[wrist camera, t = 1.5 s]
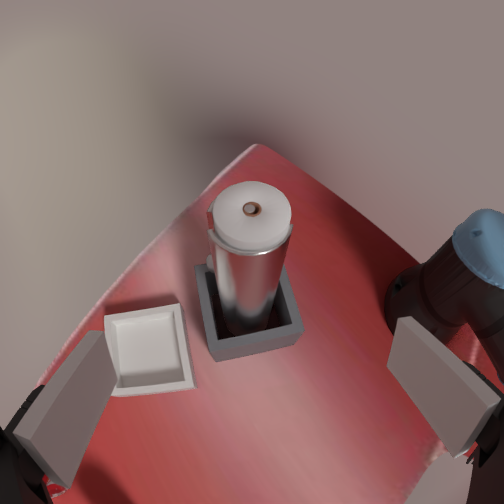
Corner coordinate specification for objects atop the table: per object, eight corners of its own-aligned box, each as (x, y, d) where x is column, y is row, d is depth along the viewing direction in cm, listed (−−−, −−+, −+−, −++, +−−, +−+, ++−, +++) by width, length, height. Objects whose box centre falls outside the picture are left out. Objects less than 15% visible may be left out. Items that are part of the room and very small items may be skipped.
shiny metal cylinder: (235, 290, 44) (229, 166, 22) (275, 307, 42) (307, 193, 21) (216, 327, 41) (186, 226, 19) (257, 345, 39) (275, 262, 18)
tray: (183, 310, 42) (179, 303, 39) (197, 388, 36) (194, 386, 33) (112, 321, 40) (104, 315, 38) (119, 396, 34) (111, 395, 32)
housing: (273, 273, 45) (279, 240, 37) (293, 344, 40) (307, 327, 31) (201, 287, 44) (191, 257, 35) (215, 362, 38) (207, 349, 30)
